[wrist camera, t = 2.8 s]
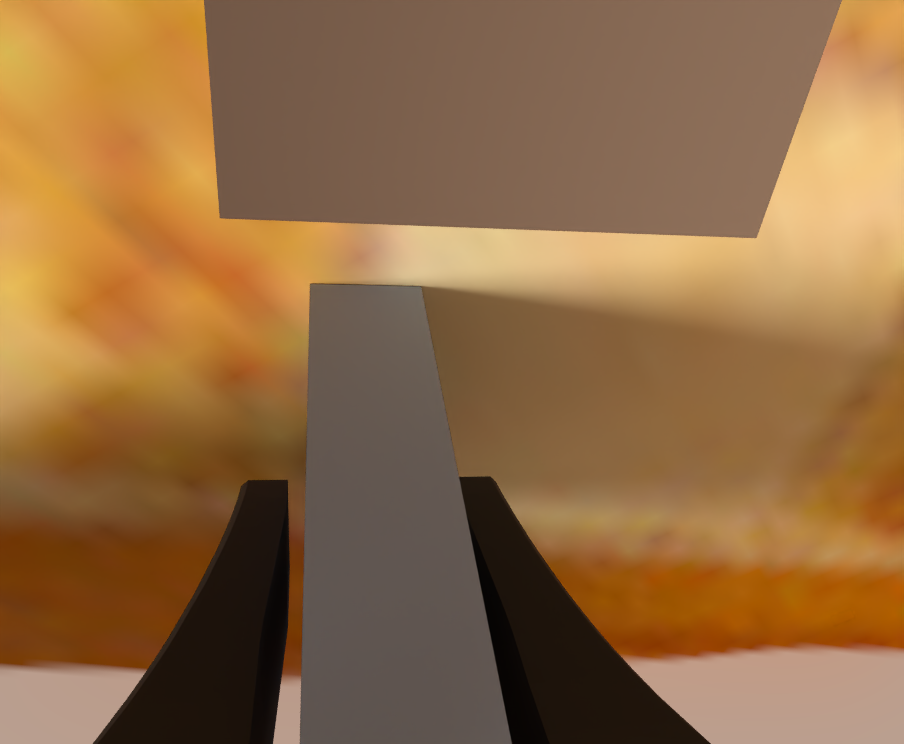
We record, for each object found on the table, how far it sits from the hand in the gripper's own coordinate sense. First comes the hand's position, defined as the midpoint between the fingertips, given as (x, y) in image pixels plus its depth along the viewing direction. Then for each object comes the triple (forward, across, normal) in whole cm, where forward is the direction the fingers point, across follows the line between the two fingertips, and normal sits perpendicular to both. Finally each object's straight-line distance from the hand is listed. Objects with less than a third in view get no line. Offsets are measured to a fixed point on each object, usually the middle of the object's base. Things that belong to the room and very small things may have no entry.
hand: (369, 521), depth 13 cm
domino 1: (+3, 0, 0) cm, 3 cm away
